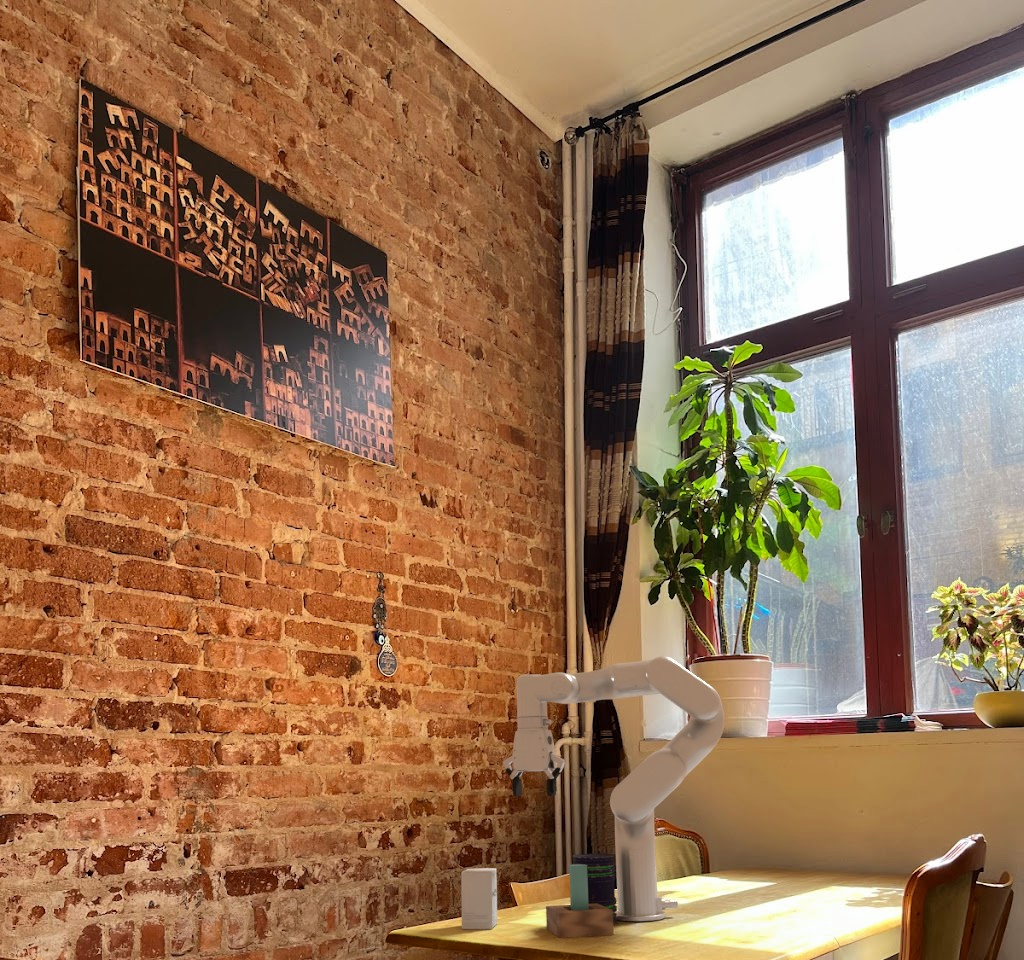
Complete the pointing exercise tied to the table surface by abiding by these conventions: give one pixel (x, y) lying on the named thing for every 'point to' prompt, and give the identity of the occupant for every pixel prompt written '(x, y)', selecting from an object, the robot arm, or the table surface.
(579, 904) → the teal peg
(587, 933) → the brown wooden base
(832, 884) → the table surface
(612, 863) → the storage jar
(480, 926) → the supplement box
